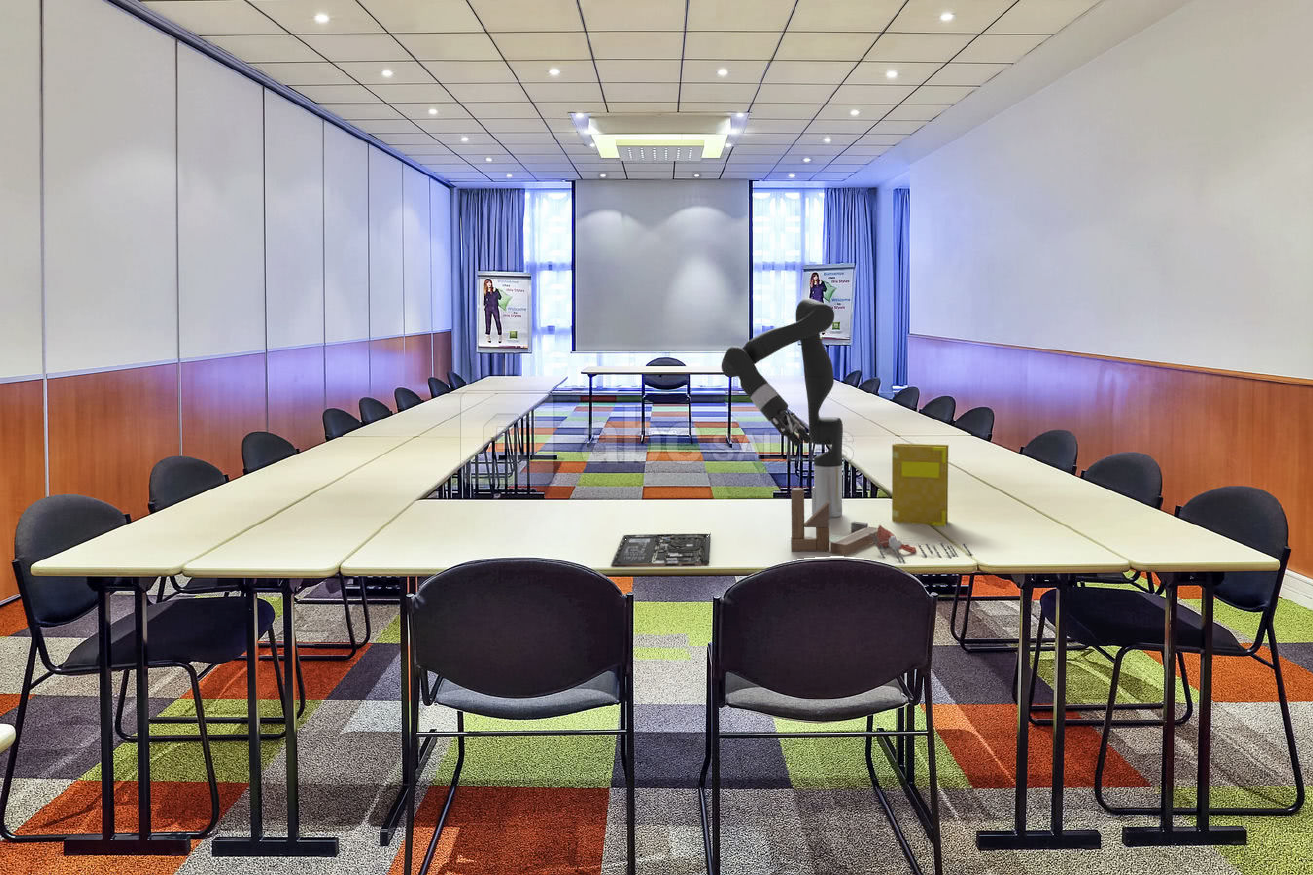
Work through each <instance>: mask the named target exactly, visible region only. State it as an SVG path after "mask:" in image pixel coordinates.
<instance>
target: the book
mask: <svg viewBox="0 0 1313 875" xmlns="http://www.w3.org/2000/svg"><path fill="white" fill-rule="evenodd" d="M891 449H892V450H891V451H892V453H891V454H892V455H891V456H892V459H891V460H892V461H891V462H892V464H891V466H892V467H891V469H892V471H891V472H892V474H891V477H892V479H891V480H892V481H891V484H892V486H891V487H892V488H891V489H892V490H891V493H892V495H891V496H892V498H891V506H892V507H891V510H892V511H891V512H892V513H891V521H892V522H893V523H897V524H911V525H912V524H913V525H924V526H925V525H926V526H936V527H937V526H938V527H945V526H946V524H947V523H948V520H949V518H948V517H949V515H948V513H949V511H948V510H949V509H948V508H949V505H948V503H949V499H948V498H949V444H923V443H921V444H920V443H918V444H917V443H895V444H892V445H891Z"/></svg>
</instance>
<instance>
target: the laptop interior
mask: <svg viewBox="0 0 1313 875" xmlns="http://www.w3.org/2000/svg"><path fill="white" fill-rule="evenodd" d="M708 535H709V536H708ZM711 535H712V534H711V532H710V533H656V534H654V533H653V534H652V533H651V534H649V533H647V534H623V535H622V537H621V540H620V542H619V545H618V547H617V549H616V552H615V554H614V556H613V559H612V561H611V563H610V564H611V566H614V567H619V566H621V567H669V566H678V567H684V566H686V567H687V566H688V567H689V566H695V567H697V566H698V567H699V566H701V567H703V566H704V567H705V566H707V565H708V564H710V555H709V553H710V554H711ZM707 536H708V537H707ZM625 539H626V540H625Z"/></svg>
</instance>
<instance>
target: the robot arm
mask: <svg viewBox="0 0 1313 875" xmlns="http://www.w3.org/2000/svg"><path fill="white" fill-rule="evenodd" d="M834 320H835V312H834V309H833V308H832V307H831V306H830V305H829V304H826V303H824V302H821V301H819V300H816V299H813V298H804V299H802V300H801V301H800V302H798V304H797V306H796V309H795V322H794V323H793V322H792V323H790V324H787V325H783V326H779V327H775V328H772V329H768V330H765V331H763V332H761V333H760V334H758V335H756V336H754V337H753V338H751V339H750V340H748V341H747V342H746V344H745V345H744V346H743V347H739V346H731V347H729V348H728V349H727V350H726V351H725V353H724V357H723V358H722V362H721V371H722V373H723V374H724V375H725V376H727V377H730V378H735V377H738V379H739V382H740V387H741V390H742V391H743V392H744V393H745V395H747V396H748V398H749V399H750V400H752V402H753V405H754V406H756V408H757V409H758V411H759V412H760V413H761V414H762V415H763V417H765V419H766V420H767V421H768V422H770V423H771V424H772V425H773V426H774V428H775V429H776V431H778V433H779V434H780V435H781V436H782V437H785V438H787V439H789V440H790V442H791V443H792V444H793V445H794V447H799V446H800V445H801V444H802V443H803V442H804V444H808V443H810V442H811V443H812V444H813V445H817V446H818V445H821V446H823V445H824V446H831V448H830V449H829V450H828V451H826V452H824V453H821V454H817V455H816V456H814V457H813V458H814V460H813V479H814V480H813V484H814V485H813V486H812V487H811V515H812V516H813V515H814V514H815V513H816V512H817V511H818V510H819V509H820V508H821V507H822V506H823V505H824V504H825V503H826V502H827V501H828V502H829V518H837V517H841V516H843V436H844V434H843V433H844V428H843V425H844V424H843V420H842V419H841V418H840V417H829V416H828V417H827V416H826V417H824V416H822V417H821V416H820V410H821V407H822V405H823V403H824V401H825V400H826V399H827V398H828V395H829V394H830V392H831V390H832V389H833V387H834V383H835V382H834V381H835V380H834V371H833V370H834V369H833V368H834V367H833V364H832V360H831V358H830V356H829V354H828V352H827V350H826V347H825V346H824V344H823V341H822V339H821V338H822V337H821V334H820V333H823V332H826V331H827V330H828V329H829V328H830V327H831V326H832V325H833V323H834ZM799 341H800V347H801V355H802V357H801V358H802V362H803V376H804V385H805V391H806V399H807V407H808V408H807V412H808V413H807V414H808V432H807V431H806V430H805V429H806V425H805V424H804V423H803V421H801V419H799V417H798V416H797V415H795V413H794V412H791V413H788V412H787V410H788V408H789V404H788V402H786V401H785V399H784V398H783V397H782V396H781V394H779V392H778V391H777V390H776V389H775V388H774V387H773V386H772V385H771V384H770V383H769V382H768V381H767V380H766V379H765V378H764V376H763V375H762V374H761V373H760V372H759V371H758V368H757V366H756V364H757V363H759V362H761V361H762V360H763V359H765V358H768V357H769V356H771V355H772V354H774V353H776V352H777V351H779V350H782V349H783V348H785V347H786V348H787V347H788V346H790V345H792V344H794V343H797V342H799ZM808 433H809V434H808ZM799 437H800V438H801V439H800V438H799ZM802 441H803V442H802Z"/></svg>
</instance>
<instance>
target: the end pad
mask: <svg viewBox="0 0 1313 875" xmlns="http://www.w3.org/2000/svg"><path fill="white" fill-rule="evenodd" d="M845 536H846V535H845ZM845 536H844V535H837V534H830V533H829V544H830V543H831V542H833V541H835V540H838V539H840V538H842V537H845ZM814 538H816V536H814Z"/></svg>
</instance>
